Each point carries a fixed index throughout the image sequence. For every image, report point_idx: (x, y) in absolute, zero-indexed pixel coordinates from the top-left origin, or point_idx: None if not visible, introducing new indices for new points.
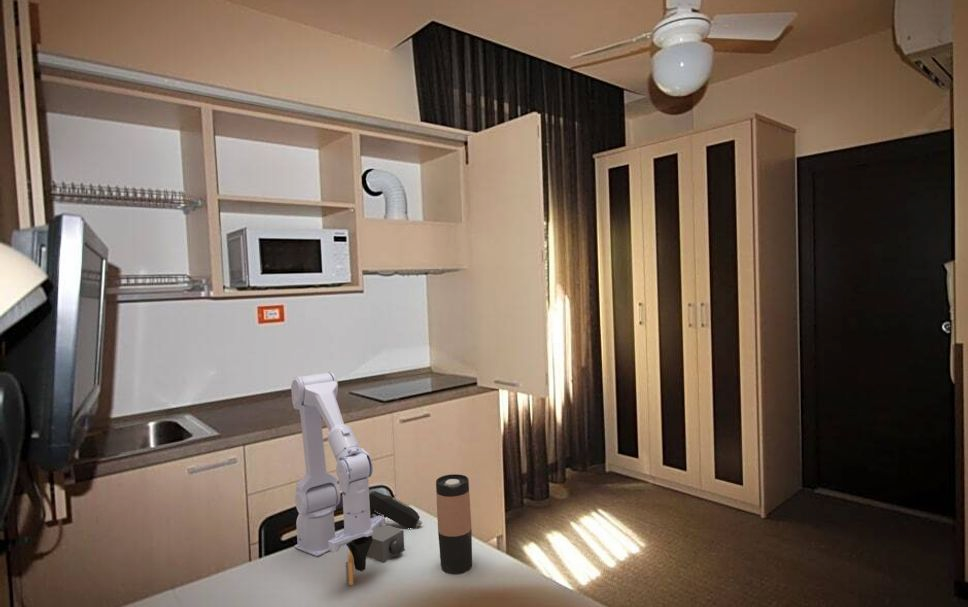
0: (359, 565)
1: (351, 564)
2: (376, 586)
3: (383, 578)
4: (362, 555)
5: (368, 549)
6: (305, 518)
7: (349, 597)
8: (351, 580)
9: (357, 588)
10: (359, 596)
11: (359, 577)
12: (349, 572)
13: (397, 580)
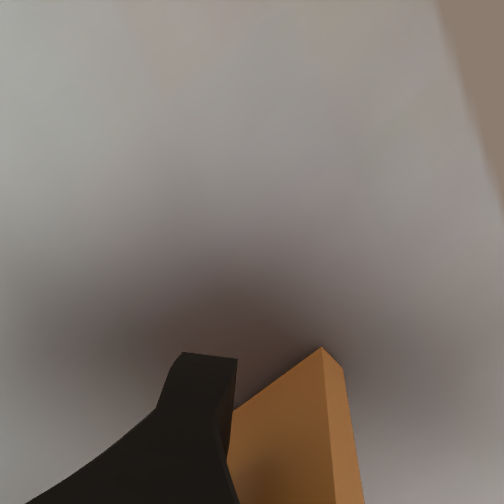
0: (226, 422)
1: (343, 497)
2: (241, 138)
3: (103, 171)
4: (211, 479)
5: (41, 494)
6: None
7: (495, 249)
8: (333, 378)
9: (343, 281)
10: (450, 173)
11: None
12: (350, 444)
13: (55, 6)
